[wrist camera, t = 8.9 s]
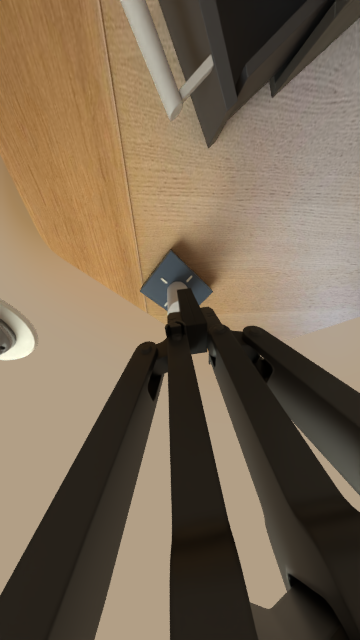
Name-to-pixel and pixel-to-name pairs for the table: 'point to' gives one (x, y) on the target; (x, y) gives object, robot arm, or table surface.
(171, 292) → the timer knob
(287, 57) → the open drawer with handle
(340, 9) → the drawer cabinet
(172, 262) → the timer panel
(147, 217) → the table surface
